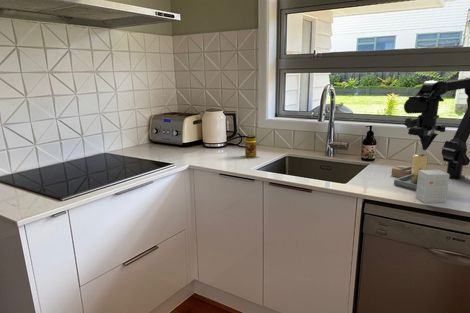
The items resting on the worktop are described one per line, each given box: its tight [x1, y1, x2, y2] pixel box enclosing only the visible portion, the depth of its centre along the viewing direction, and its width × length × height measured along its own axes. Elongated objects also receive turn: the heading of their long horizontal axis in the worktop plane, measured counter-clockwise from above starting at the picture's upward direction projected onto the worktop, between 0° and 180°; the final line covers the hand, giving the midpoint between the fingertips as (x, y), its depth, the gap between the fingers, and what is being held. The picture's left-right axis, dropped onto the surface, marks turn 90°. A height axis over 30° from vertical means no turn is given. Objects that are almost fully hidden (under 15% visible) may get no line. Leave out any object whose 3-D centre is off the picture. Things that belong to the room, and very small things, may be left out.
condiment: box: [241, 134, 259, 160], centre depth 185 cm, size 7×8×12 cm
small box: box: [415, 169, 450, 204], centre depth 119 cm, size 8×6×10 cm
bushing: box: [410, 153, 429, 185], centre depth 134 cm, size 5×5×12 cm
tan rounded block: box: [390, 164, 412, 178], centre depth 148 cm, size 9×7×5 cm
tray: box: [393, 174, 417, 191], centre depth 136 cm, size 12×12×2 cm
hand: (424, 150), depth 140 cm, fingers closed
